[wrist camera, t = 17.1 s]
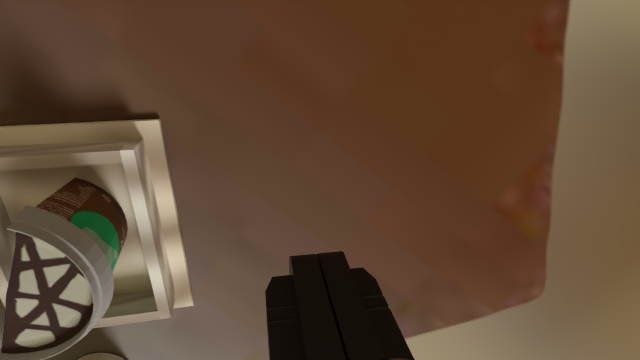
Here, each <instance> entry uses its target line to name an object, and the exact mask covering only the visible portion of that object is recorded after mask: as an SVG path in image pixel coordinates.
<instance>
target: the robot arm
mask: <svg viewBox="0 0 640 360" xmlns="http://www.w3.org/2000/svg"><path fill="white" fill-rule="evenodd" d="M265 292H266V311H267V329H268V345H269V360H414V358H413V356H412V354H411V352H410V350H409V348H408V346H407V344H406V341H405V339H404V337H403V335H402V333H401V331H400V329H399V327H398V325H397V323H396V321H395V318H394V316H393V314H392V312H391V310H390V309H389V308H388V304H387V302H386V300H385V298H384V296H383V293H382V291H381V289H380V287H379V285H378V283H377V281H376V279H375V278H374V277H373V276H372V275H370V274H369V273H368V272H367V271H366V270H365V269H364V268H354V269H350V267H349V265H348V262H347V260H346V257H345V255H344V253H343V252H342V251H340V252H329V253H319V254H317V255H316V254H309V255H299V256H290V257H289V275H287V276H277V277H272V279H271V281H270V283H269V285H268V287H267V289H266V291H265Z"/></svg>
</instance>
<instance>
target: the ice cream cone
mask: <svg viewBox="0 0 640 360" xmlns="http://www.w3.org/2000/svg"><path fill="white" fill-rule="evenodd" d="M77 360H125V359H123V358H122V357H120V356H117V355H114V354H110V353H93V354H88V355H85V356H82V357H81V358H79V359H77Z"/></svg>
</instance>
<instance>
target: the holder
mask: <svg viewBox="0 0 640 360" xmlns="http://www.w3.org/2000/svg"><path fill="white" fill-rule="evenodd" d="M75 177H76V178H79V179H82V180H86V181H88V182H90V183H93V184H95V185H97V186H98V187H100V188H102V189H103V190H105V191H106V192H107V193H109V194H110V195H111V196H112V197H113V198H114V199H115V200H116V201H117V202H118V204H119V205H120V206H121V208H122V210H123V212H124V214H125V216H126V220H127V226H128V231H127V237H126V240H125V242H124V245H123V248H122V250H121V253H120V255H119V258H118V260H117V263H116V265H115V268H114V270H113V280H114V290H113V297H112V300H111V302H110V305H109V307H108V309H107V310H106V312H105V314H104V315H103V316H102V318H101V319H100V320H99V321H98V322H97V323H96V325H95V326H94V327H93V328H99V327H106V326H114V325H121V324H128V323H136V322H143V321H150V320H158V319H165V318H171V315H172V311H173V308H179V307H187V306H193V305H194V300H193V294H192V289H191V283H190V278H189V273H188V267H187V262H186V256H185V251H184V245H183V240H182V235H181V229H180V224H179V218H178V213H177V208H176V202H175V197H174V191H173V186H172V180H171V175H170V170H169V164H168V159H167V153H166V148H165V143H164V137H163V132H162V126H161V121H160V119H142V120H121V121H100V122H79V123H57V124H36V125H15V126H0V299H1V301H2V303H3V305H4V307H5V305H6V293H7V288H8V283H9V279H10V274H11V269H12V263H13V257H14V251H15V243H16V236H15V234H16V232H15V231H11V230H7V228H8V227H9V226H10V225H11V224H12V223H13V220H14V218H15V217H16V216H17V215H18V214H19V213H20V212H21V211H22V209H23V208H24V207H25V206H26V205H28V206H32V207H35V206H37V205H38V204H39V203H41V202H42V201H44V200H45V199H46V198H48V197H49V196H50V195H52V194H53V193H54V192H56V191H57V190H59V189H60V188H61V187H63V186H64V185H65V184H67V183H68V182H70V181H71V180H72V179H74V178H75Z"/></svg>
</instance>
